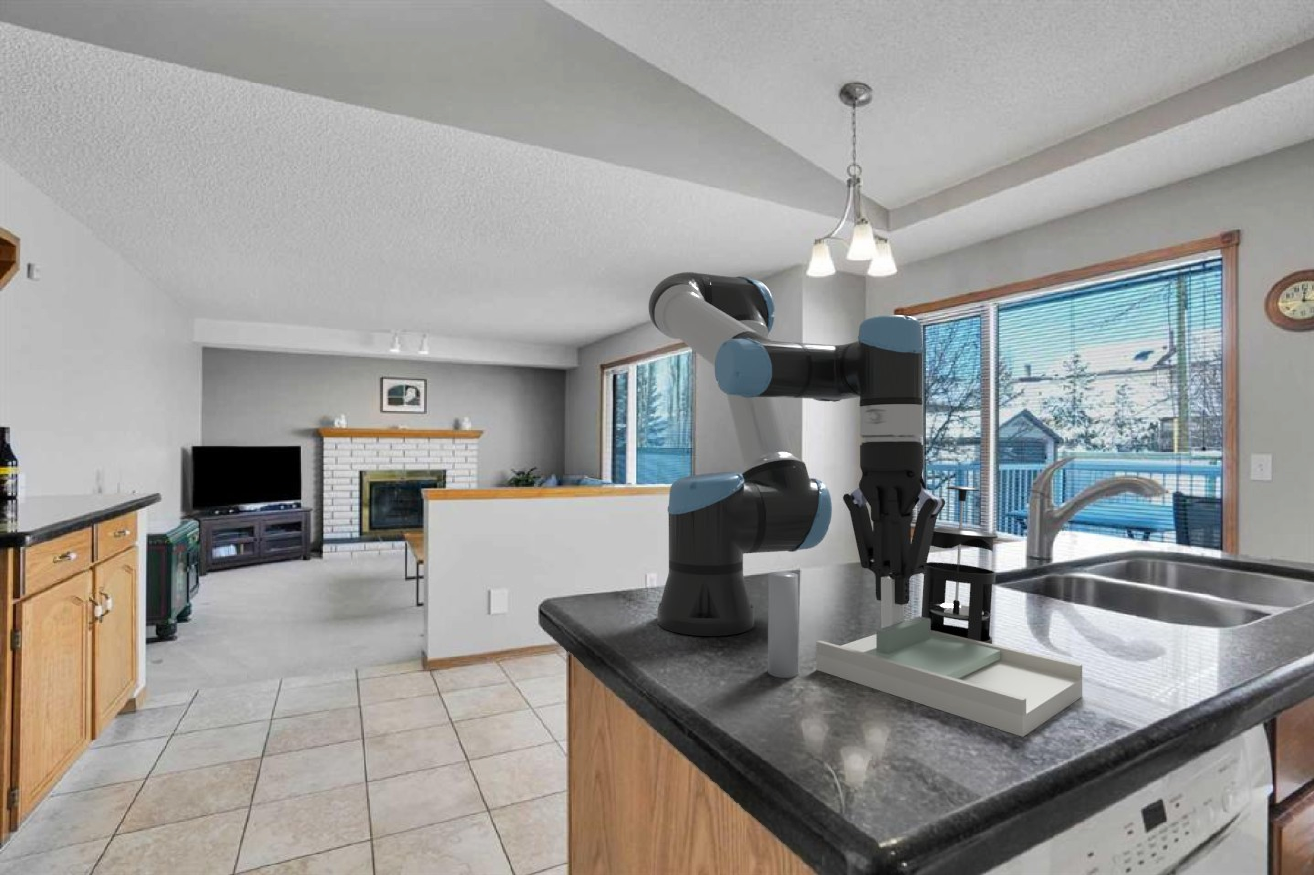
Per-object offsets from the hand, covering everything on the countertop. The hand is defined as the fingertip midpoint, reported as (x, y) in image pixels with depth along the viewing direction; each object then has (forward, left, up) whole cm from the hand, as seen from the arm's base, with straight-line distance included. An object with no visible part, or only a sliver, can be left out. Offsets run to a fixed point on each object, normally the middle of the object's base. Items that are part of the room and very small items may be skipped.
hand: (892, 628), depth 82 cm
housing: (+6, 0, -5) cm, 8 cm away
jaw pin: (-8, -12, -5) cm, 15 cm away
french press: (+1, +12, -6) cm, 14 cm away
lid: (+5, 0, -3) cm, 6 cm away
